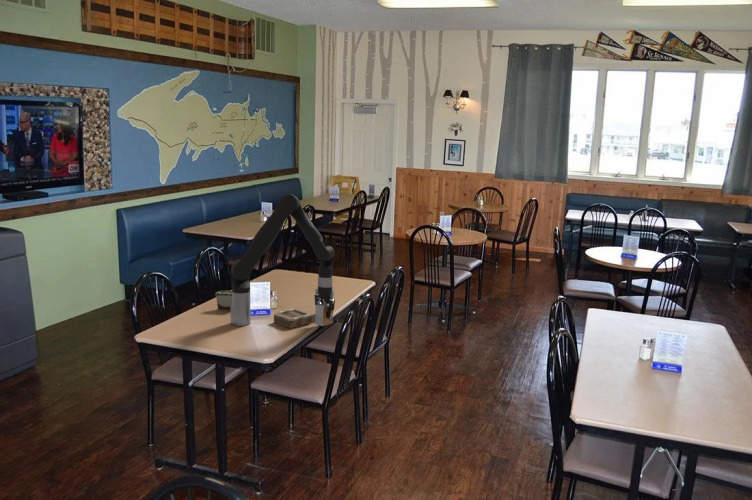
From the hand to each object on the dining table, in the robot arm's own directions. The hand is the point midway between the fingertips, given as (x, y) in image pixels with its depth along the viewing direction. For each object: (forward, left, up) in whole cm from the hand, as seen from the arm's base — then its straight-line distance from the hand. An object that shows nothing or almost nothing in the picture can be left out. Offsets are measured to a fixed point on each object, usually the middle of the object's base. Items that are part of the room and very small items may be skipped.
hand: (324, 316), depth 334 cm
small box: (0, 0, -4) cm, 4 cm away
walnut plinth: (-10, +14, -5) cm, 18 cm away
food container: (-23, +56, -5) cm, 61 cm away
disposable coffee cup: (+14, +16, -5) cm, 22 cm away
